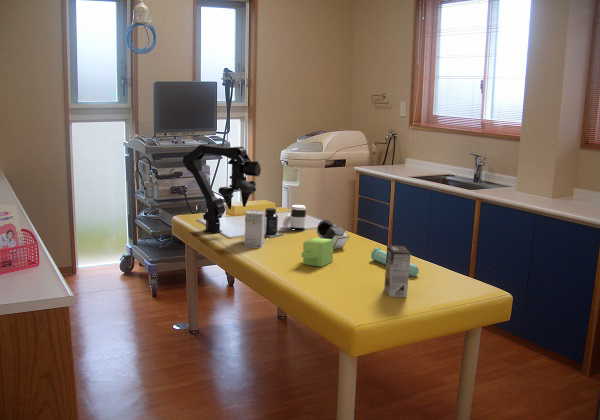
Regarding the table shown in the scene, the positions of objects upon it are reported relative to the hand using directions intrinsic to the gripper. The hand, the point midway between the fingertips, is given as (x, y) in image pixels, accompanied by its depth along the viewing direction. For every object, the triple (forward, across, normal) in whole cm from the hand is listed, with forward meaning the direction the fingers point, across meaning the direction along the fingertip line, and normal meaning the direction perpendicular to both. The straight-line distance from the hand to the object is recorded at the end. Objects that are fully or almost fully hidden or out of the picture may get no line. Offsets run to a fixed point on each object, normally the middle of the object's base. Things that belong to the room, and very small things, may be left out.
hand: (236, 207), depth 289 cm
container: (+14, +11, -79) cm, 81 cm away
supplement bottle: (+13, +13, -9) cm, 20 cm away
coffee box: (+13, -15, -96) cm, 98 cm away
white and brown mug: (+13, +32, -8) cm, 36 cm away
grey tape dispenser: (+13, +23, -38) cm, 46 cm away
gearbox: (+13, -6, -53) cm, 55 cm away
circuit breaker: (+13, -4, -16) cm, 21 cm away
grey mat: (+13, +13, -9) cm, 21 cm away
